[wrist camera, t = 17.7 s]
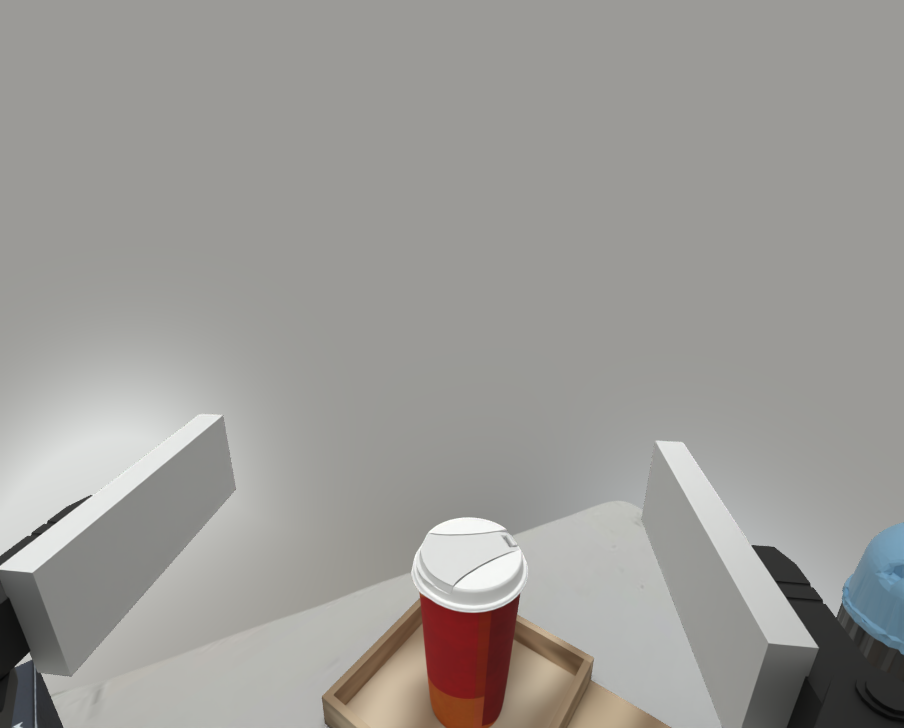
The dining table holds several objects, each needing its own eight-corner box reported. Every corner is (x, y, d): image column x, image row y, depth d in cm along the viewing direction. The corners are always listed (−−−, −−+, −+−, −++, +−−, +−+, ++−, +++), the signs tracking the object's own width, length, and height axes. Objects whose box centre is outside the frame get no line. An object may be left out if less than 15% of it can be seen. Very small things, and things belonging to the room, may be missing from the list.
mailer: (690, 743, 38) (698, 716, 36) (624, 1000, 26) (632, 972, 25) (444, 596, 50) (444, 573, 49) (325, 722, 39) (321, 696, 38)
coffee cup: (491, 640, 45) (498, 503, 40) (536, 728, 38) (551, 576, 33) (403, 668, 42) (397, 526, 37) (432, 769, 35) (430, 611, 30)
